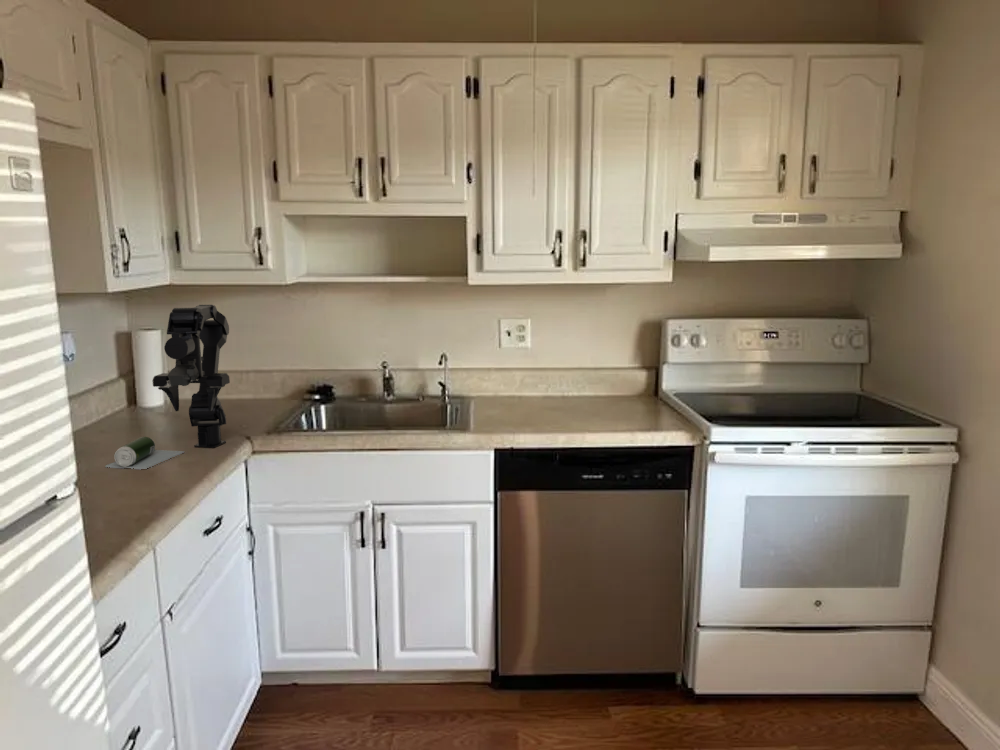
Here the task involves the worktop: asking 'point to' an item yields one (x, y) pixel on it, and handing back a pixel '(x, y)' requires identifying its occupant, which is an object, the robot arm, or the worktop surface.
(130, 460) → the beer can
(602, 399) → the worktop surface
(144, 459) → the grey mat
